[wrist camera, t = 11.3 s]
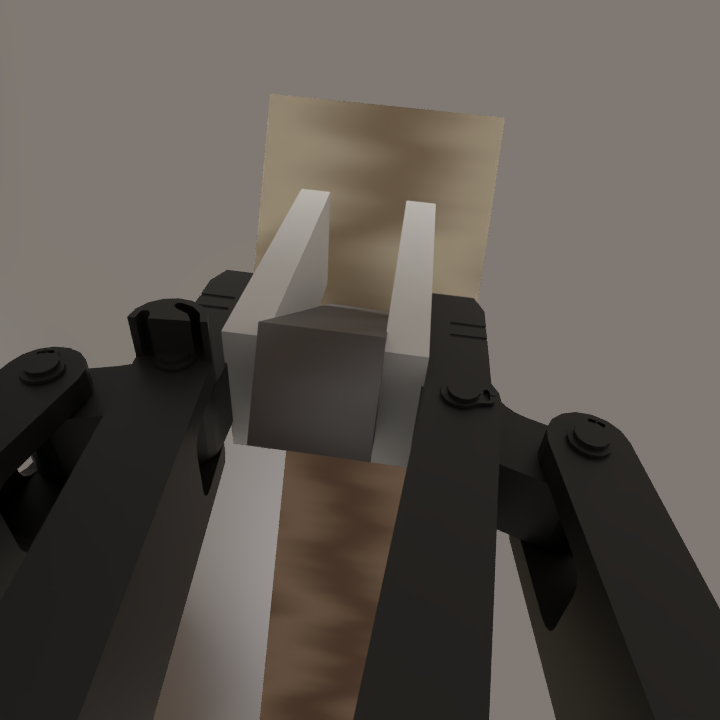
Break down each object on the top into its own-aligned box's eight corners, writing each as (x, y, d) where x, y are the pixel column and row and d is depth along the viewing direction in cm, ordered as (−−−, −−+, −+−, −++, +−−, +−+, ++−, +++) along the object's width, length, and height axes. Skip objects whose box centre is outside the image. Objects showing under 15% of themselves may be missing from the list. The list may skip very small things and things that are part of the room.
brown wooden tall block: (240, 914, 33) (287, 438, 29) (264, 821, 38) (306, 413, 35) (375, 939, 32) (441, 459, 28) (379, 841, 38) (435, 430, 34)
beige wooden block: (96, 424, 9) (126, -116, 8) (282, 340, 23) (302, 140, 22) (528, 484, 9) (624, -76, 8) (450, 361, 23) (479, 159, 22)
